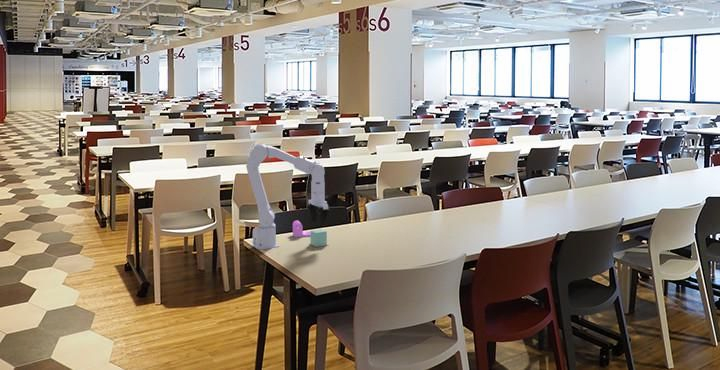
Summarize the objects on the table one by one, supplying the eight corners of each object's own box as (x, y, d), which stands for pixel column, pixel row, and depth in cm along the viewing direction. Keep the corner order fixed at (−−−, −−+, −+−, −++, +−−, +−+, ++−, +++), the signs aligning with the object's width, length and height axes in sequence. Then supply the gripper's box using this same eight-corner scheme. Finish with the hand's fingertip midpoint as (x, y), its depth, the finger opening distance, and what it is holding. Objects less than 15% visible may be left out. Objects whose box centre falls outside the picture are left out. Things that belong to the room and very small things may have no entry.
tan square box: (315, 248, 269) (315, 238, 268) (308, 244, 274) (308, 235, 273) (328, 246, 272) (328, 236, 271) (321, 243, 277) (321, 233, 277)
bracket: (294, 238, 287) (294, 223, 286) (292, 235, 292) (292, 220, 291) (322, 236, 290) (322, 221, 289) (320, 233, 296) (320, 219, 294)
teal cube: (316, 246, 269) (315, 233, 268) (310, 244, 274) (310, 230, 273) (326, 245, 272) (326, 231, 271) (321, 242, 276) (321, 229, 275)
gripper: (334, 193, 265) (334, 225, 267) (318, 188, 277) (318, 219, 280) (319, 195, 262) (319, 227, 264) (303, 190, 274) (304, 220, 276)
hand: (318, 223), depth 271 cm, fingers open, 7 cm apart
